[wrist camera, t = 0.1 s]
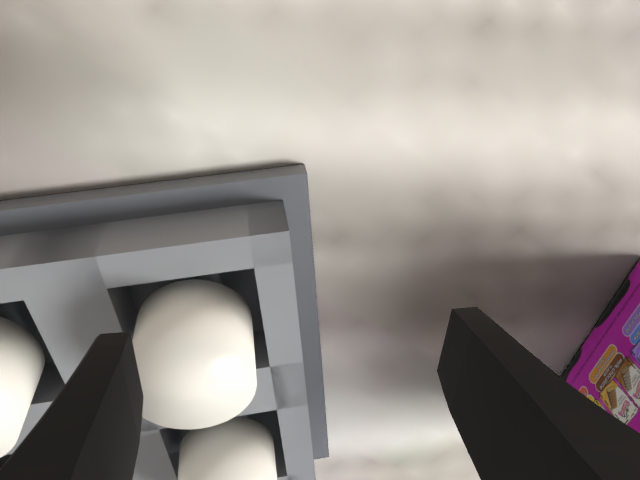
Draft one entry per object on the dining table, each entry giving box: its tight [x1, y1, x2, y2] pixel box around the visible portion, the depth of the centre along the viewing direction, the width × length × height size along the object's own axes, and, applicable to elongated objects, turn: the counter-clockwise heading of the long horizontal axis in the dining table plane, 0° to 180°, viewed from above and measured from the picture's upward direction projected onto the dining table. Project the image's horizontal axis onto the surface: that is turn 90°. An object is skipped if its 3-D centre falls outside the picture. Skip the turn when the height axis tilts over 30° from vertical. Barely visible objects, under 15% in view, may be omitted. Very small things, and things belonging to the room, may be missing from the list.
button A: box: [178, 417, 277, 480], centre depth 24 cm, size 4×4×3 cm
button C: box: [132, 279, 257, 430], centre depth 19 cm, size 4×4×3 cm
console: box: [0, 164, 329, 480], centre depth 23 cm, size 18×18×3 cm
